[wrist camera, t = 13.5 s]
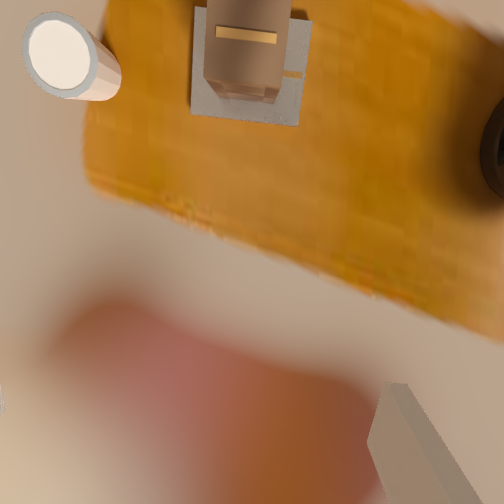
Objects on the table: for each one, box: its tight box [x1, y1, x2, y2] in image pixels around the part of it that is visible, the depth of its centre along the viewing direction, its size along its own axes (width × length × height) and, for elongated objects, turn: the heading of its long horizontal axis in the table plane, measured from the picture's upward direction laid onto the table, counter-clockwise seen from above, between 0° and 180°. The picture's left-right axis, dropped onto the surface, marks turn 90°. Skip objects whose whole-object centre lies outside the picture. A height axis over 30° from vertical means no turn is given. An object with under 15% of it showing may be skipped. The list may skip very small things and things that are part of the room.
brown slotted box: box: [203, 0, 292, 104], centre depth 28 cm, size 6×6×11 cm
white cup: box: [22, 12, 122, 101], centre depth 32 cm, size 7×7×7 cm
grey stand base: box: [190, 6, 313, 127], centre depth 32 cm, size 12×10×6 cm
